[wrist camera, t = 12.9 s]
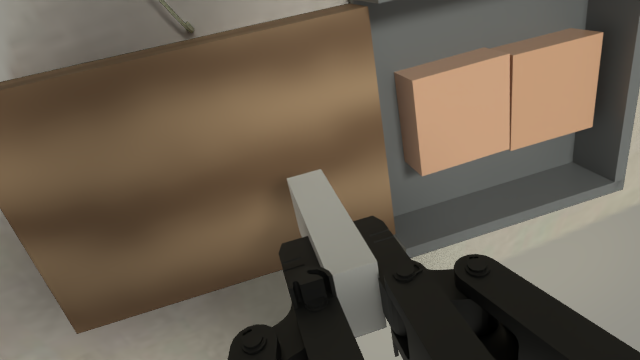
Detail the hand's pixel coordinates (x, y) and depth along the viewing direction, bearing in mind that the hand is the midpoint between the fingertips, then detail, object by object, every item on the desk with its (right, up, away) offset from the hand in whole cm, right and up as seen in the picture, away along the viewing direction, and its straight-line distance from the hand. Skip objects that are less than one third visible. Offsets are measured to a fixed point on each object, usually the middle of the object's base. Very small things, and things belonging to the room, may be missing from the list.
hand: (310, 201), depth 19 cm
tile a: (+8, +6, +9) cm, 13 cm away
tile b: (+14, +7, +10) cm, 19 cm away
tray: (+11, +7, +10) cm, 16 cm away
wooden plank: (-6, +2, +7) cm, 10 cm away
